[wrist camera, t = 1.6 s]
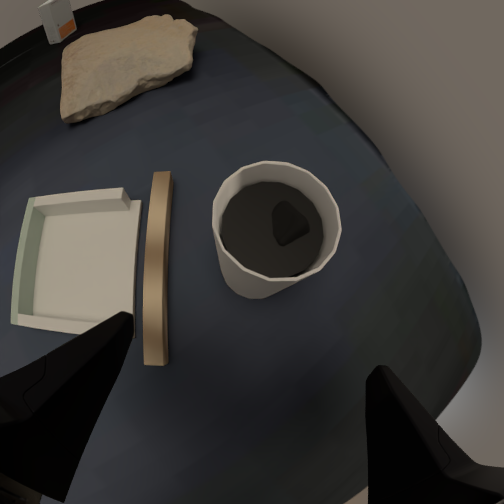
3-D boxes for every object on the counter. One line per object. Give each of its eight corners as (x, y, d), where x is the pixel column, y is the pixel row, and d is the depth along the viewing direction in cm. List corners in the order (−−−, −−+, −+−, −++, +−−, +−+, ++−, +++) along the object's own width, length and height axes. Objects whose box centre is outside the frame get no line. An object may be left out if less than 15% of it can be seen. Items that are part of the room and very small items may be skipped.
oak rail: (168, 363, 20) (163, 365, 18) (150, 362, 20) (144, 364, 18) (173, 182, 24) (170, 171, 22) (158, 183, 24) (154, 172, 22)
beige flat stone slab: (167, 25, 35) (65, 55, 29) (169, -6, 28) (58, 24, 22) (209, 91, 31) (62, 138, 25) (217, 46, 24) (43, 97, 18)
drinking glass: (264, 214, 24) (289, 144, 15) (308, 275, 23) (364, 235, 14) (200, 253, 23) (186, 196, 13) (245, 320, 21) (263, 310, 12)
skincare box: (61, 42, 32) (48, 3, 21) (49, 45, 32) (36, 7, 21) (78, 28, 34) (67, -9, 23) (66, 31, 34) (55, -5, 22)
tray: (142, 202, 23) (133, 187, 21) (135, 337, 20) (122, 338, 17) (43, 210, 22) (29, 198, 19) (29, 326, 19) (10, 323, 16)
